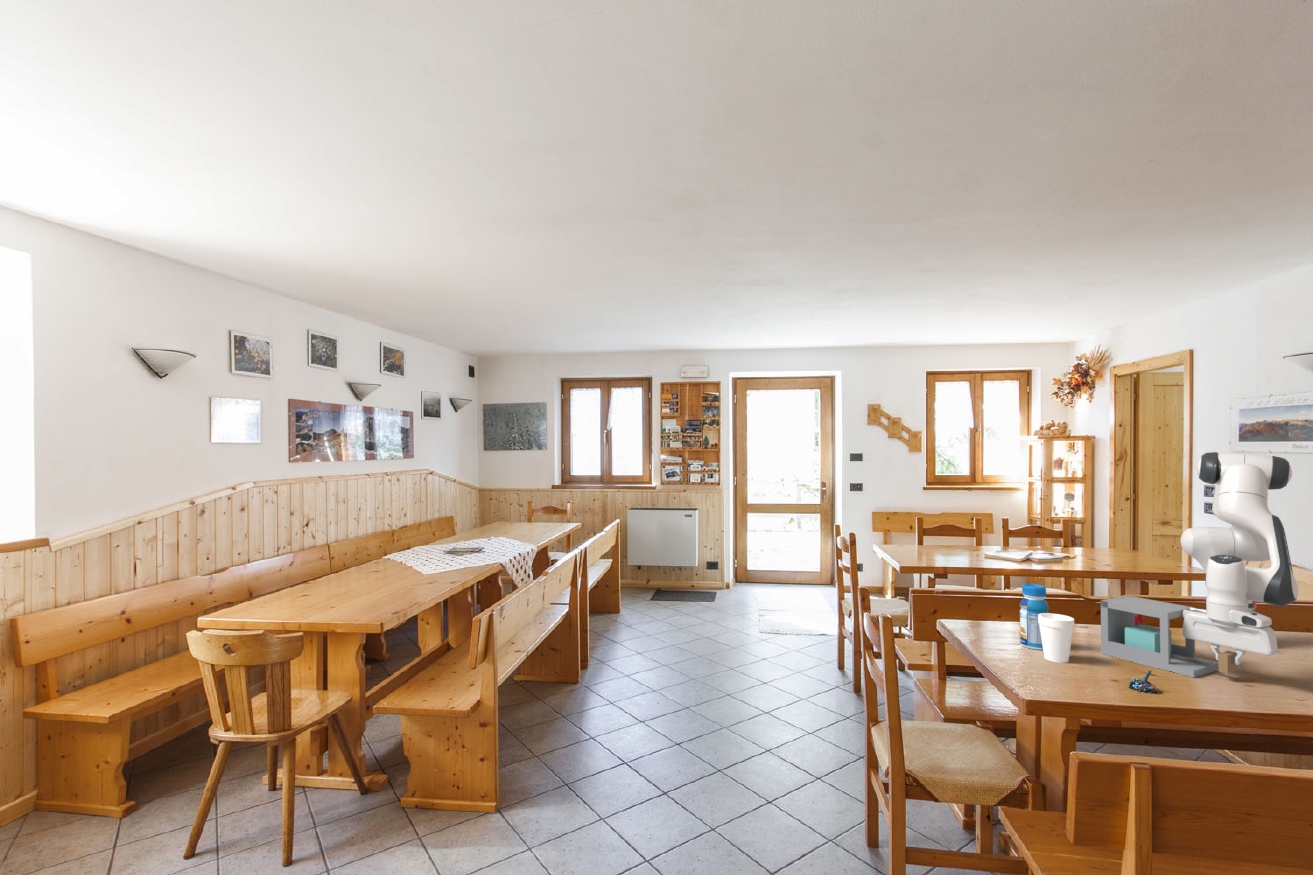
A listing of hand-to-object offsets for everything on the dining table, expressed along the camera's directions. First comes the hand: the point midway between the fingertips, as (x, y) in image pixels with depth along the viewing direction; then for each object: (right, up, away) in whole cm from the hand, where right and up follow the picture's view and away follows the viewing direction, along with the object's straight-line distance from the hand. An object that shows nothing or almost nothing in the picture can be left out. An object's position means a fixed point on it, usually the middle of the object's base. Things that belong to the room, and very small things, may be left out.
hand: (1228, 662), depth 176 cm
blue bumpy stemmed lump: (-31, -5, -9) cm, 33 cm away
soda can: (+1, -6, +37) cm, 38 cm away
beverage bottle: (-37, -5, +29) cm, 48 cm away
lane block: (-5, -3, +10) cm, 11 cm away
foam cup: (-39, -5, +16) cm, 42 cm away
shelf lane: (-8, -5, +15) cm, 17 cm away
